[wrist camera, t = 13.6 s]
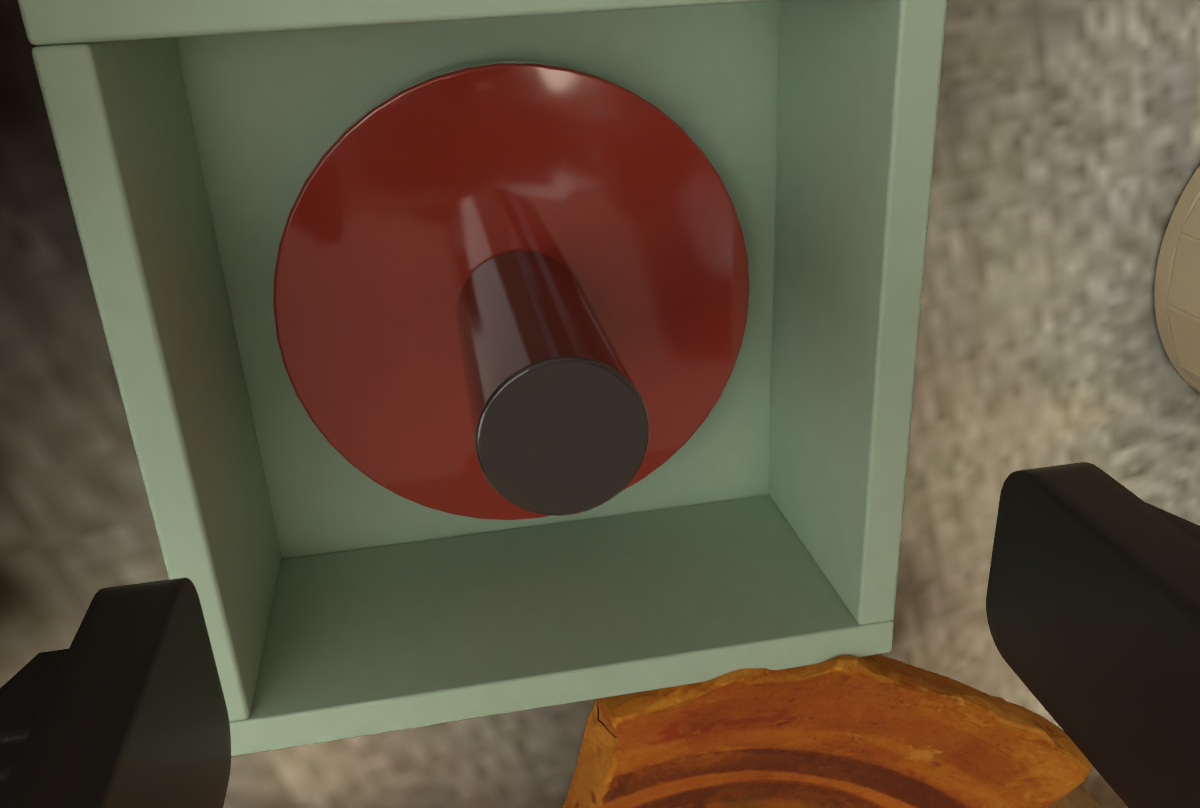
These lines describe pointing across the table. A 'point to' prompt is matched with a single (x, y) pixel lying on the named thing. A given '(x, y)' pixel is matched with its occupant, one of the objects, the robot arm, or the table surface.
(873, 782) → the pottery fragment
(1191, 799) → the robot arm
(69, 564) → the table surface
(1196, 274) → the pot
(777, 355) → the green square box
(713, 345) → the lid
